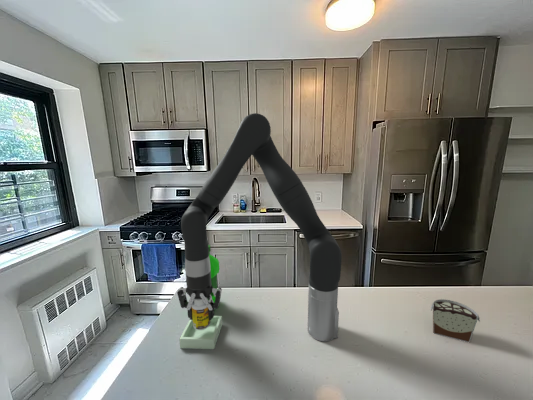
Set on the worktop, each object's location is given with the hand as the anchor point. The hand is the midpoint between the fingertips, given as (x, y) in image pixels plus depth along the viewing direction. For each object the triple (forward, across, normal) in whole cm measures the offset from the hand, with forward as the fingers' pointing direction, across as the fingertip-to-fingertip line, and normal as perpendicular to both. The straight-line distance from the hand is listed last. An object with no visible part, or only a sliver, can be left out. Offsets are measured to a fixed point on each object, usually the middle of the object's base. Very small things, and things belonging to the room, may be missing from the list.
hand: (201, 318), depth 74 cm
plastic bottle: (+7, +2, -15) cm, 16 cm away
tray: (+6, 0, 0) cm, 6 cm away
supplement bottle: (+3, 0, 0) cm, 3 cm away
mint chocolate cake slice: (+6, -82, -4) cm, 82 cm away
